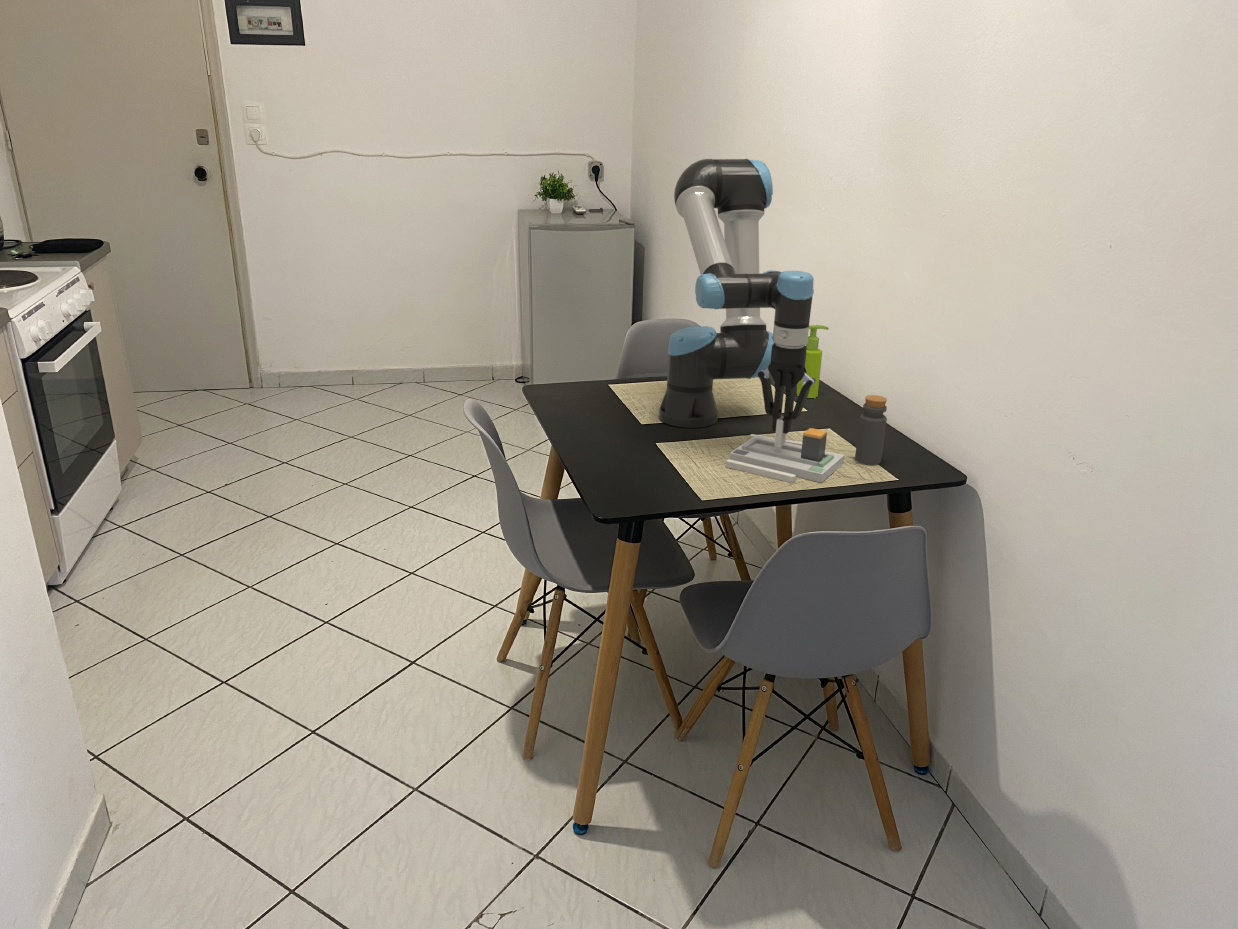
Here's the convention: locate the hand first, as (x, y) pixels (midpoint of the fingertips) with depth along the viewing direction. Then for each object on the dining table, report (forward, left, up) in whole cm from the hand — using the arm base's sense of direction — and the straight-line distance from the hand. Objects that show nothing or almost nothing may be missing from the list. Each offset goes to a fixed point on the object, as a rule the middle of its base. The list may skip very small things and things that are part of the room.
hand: (779, 445), depth 201 cm
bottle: (+17, +11, -4) cm, 21 cm away
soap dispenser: (-13, +51, -4) cm, 53 cm away
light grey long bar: (0, -11, -4) cm, 11 cm away
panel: (+2, -1, -3) cm, 4 cm away
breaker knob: (+8, -1, -1) cm, 8 cm away
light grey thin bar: (-4, +9, -4) cm, 10 cm away
